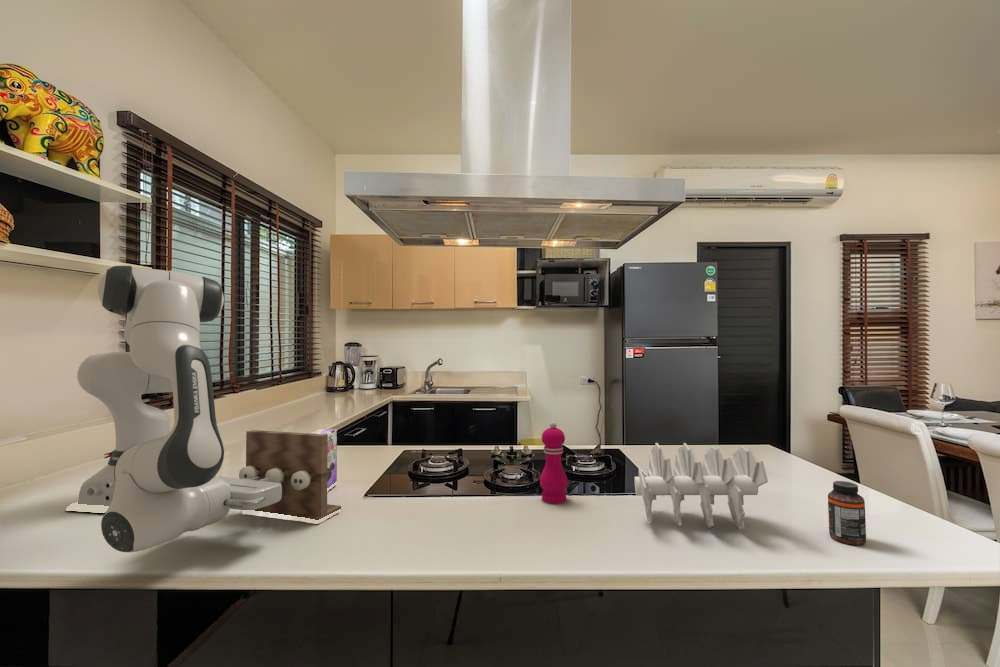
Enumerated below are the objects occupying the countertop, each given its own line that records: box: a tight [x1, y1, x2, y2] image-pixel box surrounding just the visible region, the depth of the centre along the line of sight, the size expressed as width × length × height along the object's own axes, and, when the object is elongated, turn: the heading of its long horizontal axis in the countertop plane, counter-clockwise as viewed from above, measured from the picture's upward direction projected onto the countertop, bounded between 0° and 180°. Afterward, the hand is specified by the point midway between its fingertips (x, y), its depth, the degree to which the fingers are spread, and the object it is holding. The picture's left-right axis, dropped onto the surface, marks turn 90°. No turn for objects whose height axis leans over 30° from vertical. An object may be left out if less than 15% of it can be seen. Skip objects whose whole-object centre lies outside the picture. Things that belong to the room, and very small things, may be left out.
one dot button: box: [238, 466, 261, 479], centre depth 107 cm, size 4×6×4 cm
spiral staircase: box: [633, 442, 769, 530], centre depth 100 cm, size 18×18×25 cm
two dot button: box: [291, 470, 312, 490], centre depth 102 cm, size 4×6×4 cm
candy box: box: [309, 428, 338, 488], centre depth 123 cm, size 14×6×16 cm, turn 179°
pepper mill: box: [539, 421, 569, 504], centre depth 116 cm, size 7×7×20 cm
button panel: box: [245, 429, 342, 520], centre depth 108 cm, size 22×8×20 cm, turn 72°
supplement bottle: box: [827, 480, 867, 546], centre depth 91 cm, size 6×6×11 cm
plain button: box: [265, 468, 286, 484], centre depth 105 cm, size 4×6×4 cm
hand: (264, 481), depth 100 cm, fingers closed
